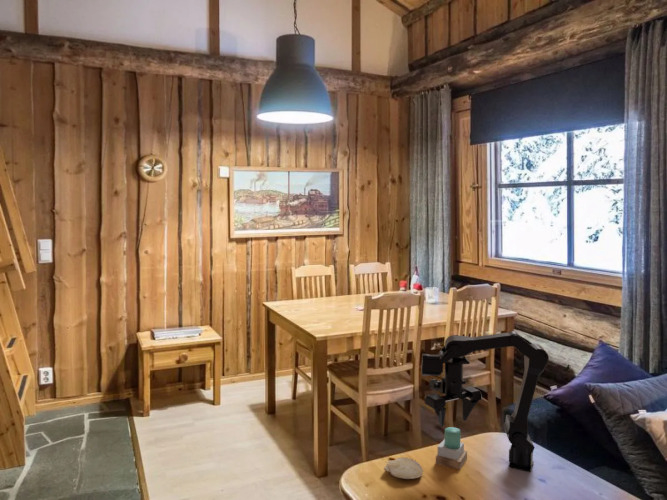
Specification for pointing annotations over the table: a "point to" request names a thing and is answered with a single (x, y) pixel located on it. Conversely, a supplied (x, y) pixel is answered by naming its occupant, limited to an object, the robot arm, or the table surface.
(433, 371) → the robot arm
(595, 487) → the table surface
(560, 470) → the table surface
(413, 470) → the seashell
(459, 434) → the teal cylinder
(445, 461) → the walnut base
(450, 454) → the grey block
